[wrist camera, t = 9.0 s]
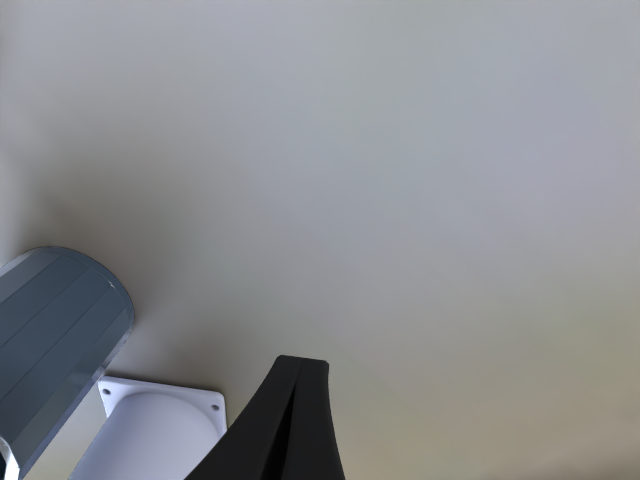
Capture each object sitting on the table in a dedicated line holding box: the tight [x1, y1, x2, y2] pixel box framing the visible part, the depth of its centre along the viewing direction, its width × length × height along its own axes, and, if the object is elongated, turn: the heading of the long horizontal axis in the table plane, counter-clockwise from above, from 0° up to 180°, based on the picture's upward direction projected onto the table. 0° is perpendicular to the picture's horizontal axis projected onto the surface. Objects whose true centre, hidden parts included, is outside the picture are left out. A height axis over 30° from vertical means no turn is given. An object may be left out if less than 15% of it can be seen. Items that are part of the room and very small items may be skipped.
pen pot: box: [0, 247, 134, 480], centre depth 21 cm, size 7×7×9 cm
